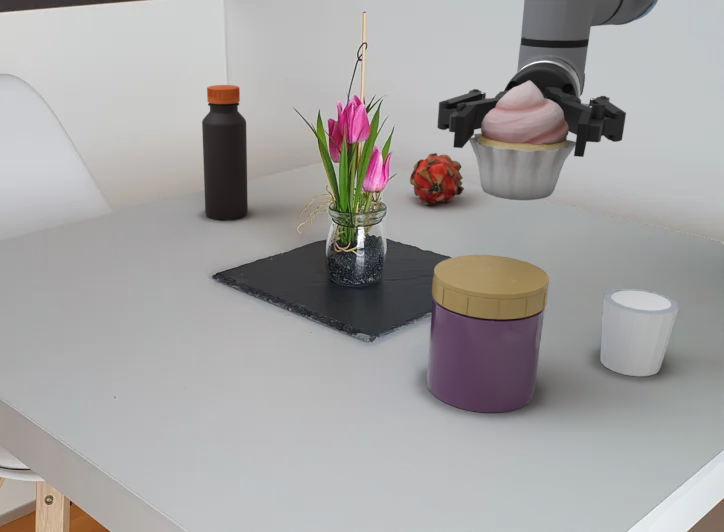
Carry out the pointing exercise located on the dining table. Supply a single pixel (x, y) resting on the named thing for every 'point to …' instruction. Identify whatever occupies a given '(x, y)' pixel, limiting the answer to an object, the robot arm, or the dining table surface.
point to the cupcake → (522, 145)
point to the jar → (483, 360)
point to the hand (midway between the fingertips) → (518, 136)
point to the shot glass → (636, 330)
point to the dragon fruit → (436, 179)
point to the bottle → (225, 155)
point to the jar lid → (490, 286)
